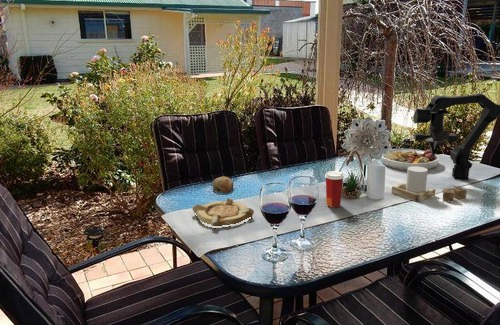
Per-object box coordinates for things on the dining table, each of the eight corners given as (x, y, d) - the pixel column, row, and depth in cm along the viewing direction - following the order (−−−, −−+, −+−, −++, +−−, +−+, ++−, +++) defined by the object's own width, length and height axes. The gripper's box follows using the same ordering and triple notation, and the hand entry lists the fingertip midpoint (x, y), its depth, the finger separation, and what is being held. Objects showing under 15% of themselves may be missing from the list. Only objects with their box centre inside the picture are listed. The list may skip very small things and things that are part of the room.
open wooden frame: (408, 187, 197) (409, 181, 196) (434, 195, 186) (435, 189, 185) (391, 193, 190) (391, 186, 189) (417, 201, 180) (418, 195, 179)
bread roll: (211, 197, 201) (207, 185, 195) (219, 182, 207) (215, 170, 202) (230, 199, 197) (226, 187, 192) (238, 184, 204) (234, 172, 199)
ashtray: (194, 233, 156) (193, 220, 155) (192, 208, 179) (191, 197, 178) (257, 227, 160) (257, 215, 158) (248, 204, 182) (247, 193, 181)
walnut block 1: (452, 198, 182) (453, 190, 181) (453, 202, 179) (454, 193, 178) (442, 197, 184) (443, 189, 183) (442, 201, 180) (443, 192, 179)
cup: (416, 190, 192) (418, 165, 189) (429, 196, 185) (431, 170, 182) (401, 193, 190) (403, 167, 187) (413, 199, 183) (416, 172, 179)
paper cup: (344, 203, 180) (346, 171, 176) (340, 209, 173) (341, 177, 169) (326, 200, 183) (327, 169, 179) (321, 207, 176) (322, 175, 172)
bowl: (397, 174, 216) (398, 160, 214) (370, 159, 244) (370, 145, 242) (450, 170, 222) (451, 155, 219) (417, 155, 250) (418, 142, 248)
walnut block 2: (459, 196, 185) (460, 187, 184) (465, 199, 182) (466, 190, 181) (451, 196, 185) (452, 188, 184) (457, 200, 181) (458, 191, 180)
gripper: (419, 125, 195) (416, 158, 200) (462, 126, 192) (458, 159, 196) (414, 121, 206) (412, 152, 210) (456, 121, 202) (452, 153, 207)
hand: (433, 154), depth 205 cm, fingers closed
